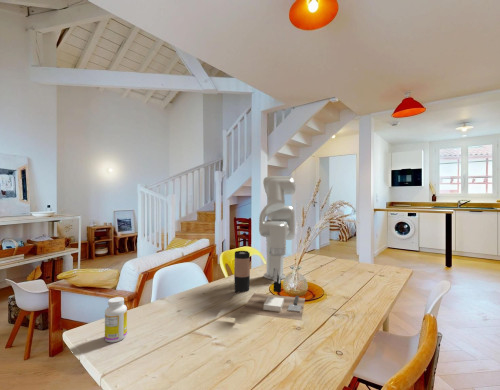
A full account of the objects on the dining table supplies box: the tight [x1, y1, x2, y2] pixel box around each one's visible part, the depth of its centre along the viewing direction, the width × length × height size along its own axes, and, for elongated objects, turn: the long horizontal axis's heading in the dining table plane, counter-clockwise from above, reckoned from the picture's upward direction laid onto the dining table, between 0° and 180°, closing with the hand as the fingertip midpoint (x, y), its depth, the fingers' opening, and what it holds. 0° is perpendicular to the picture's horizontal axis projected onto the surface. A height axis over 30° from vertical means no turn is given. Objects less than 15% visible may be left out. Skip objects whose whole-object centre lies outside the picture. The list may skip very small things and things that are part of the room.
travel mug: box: [233, 250, 251, 294], centre depth 130 cm, size 8×8×20 cm
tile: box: [264, 297, 284, 312], centre depth 110 cm, size 2×7×9 cm
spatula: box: [287, 295, 301, 312], centre depth 112 cm, size 15×5×1 cm, turn 164°
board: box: [240, 292, 306, 321], centre depth 112 cm, size 22×24×2 cm
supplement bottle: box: [104, 296, 128, 343], centre depth 88 cm, size 7×7×13 cm
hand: (277, 291), depth 118 cm, fingers closed
